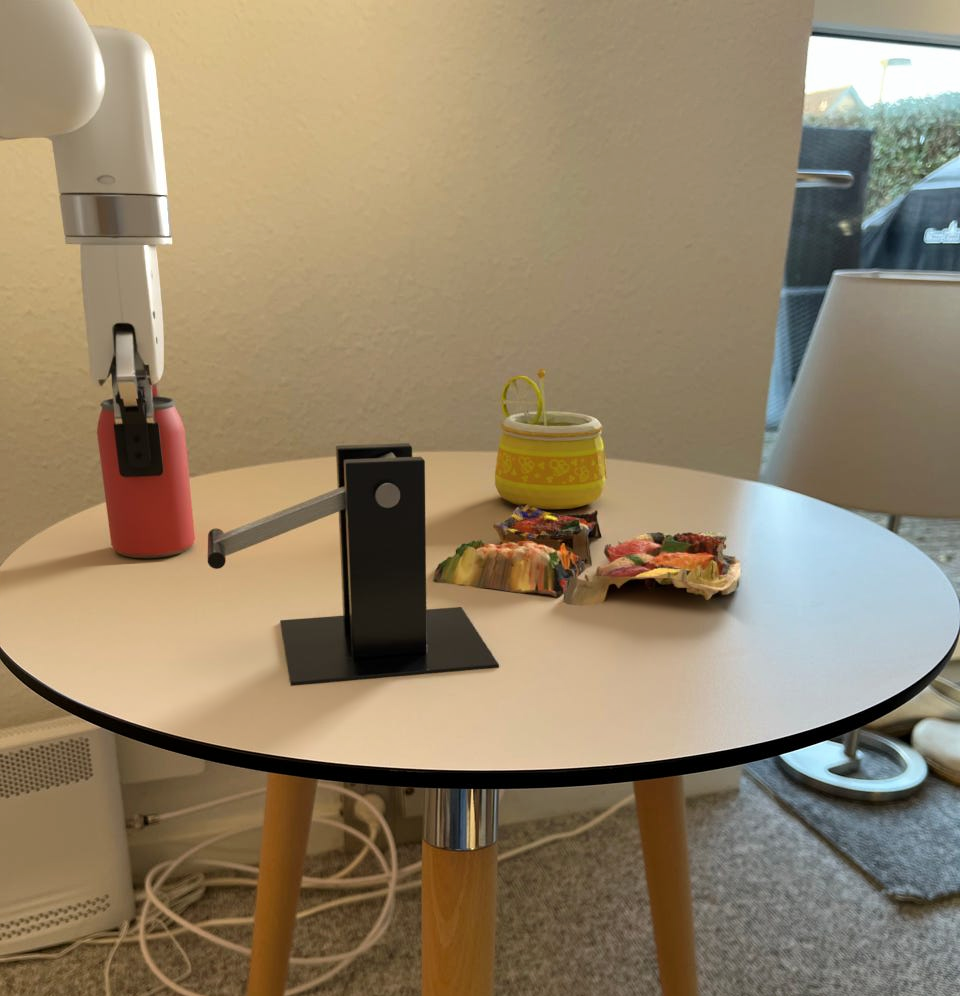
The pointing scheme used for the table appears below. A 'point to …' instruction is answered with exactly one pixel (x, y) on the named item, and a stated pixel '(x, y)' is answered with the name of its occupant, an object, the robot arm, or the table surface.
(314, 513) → the lever
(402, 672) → the bracket
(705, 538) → the food
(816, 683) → the table surface
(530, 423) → the yellow flower pot
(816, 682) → the table surface
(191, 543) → the beer can
